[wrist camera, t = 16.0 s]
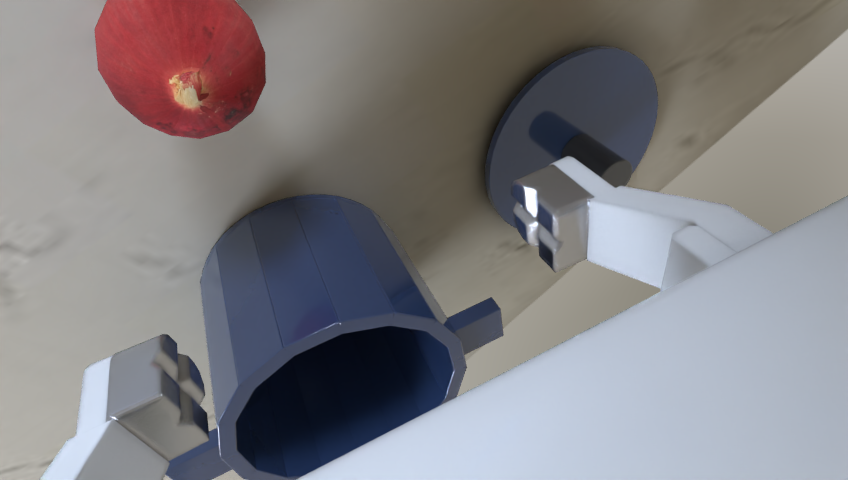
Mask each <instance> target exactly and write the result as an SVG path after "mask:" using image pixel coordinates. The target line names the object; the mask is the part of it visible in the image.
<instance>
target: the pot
mask: <svg viewBox="0 0 848 480" xmlns="http://www.w3.org/2000/svg"><path fill="white" fill-rule="evenodd" d="M200 284H201V295H202V306H203V316H204V325H205V334H206V343H207V351H208V360H209V369H210V378H211V387H212V396H213V405H214V413H215V422H216V429H214V430H211V431H209V441H207V442H205V443H203V444H201V445H199V446H197V447H195V448H193V449H191V450H189V451H187V452H185V453H183V454H181V455H180V456H178V457H176V458H174V459H172V460H170V461H168V462H169V463H170V464H169V466H168V469H167V471H166V473H165V475H167V476H168V477H169V478H171V479H172V480H212V479H214V478H216V477H218V476H220V475H222V474H224V473H226V472H228V471H230V470H232V469H233V470H234V471H235V472H236V473H237V474H238V475H239V476H241V477H242V478H243V479H246V480H296V479H298V478H300V477H302V476H304V475H306V474H308V473H309V472H311V471H313V470H315V469H317V468H319V467H321V466H323V465H325V464H327V463H329V462H331V461H333V460H335V459H337V458H339V457H341V456H343V455H344V454H346V453H348V452H350V451H352V450H354V449H356V448H358V447H360V446H362V445H364V444H366V443H368V442H370V441H372V440H374V439H376V438H378V437H380V436H381V435H383V434H385V433H387V432H389V431H391V430H393V429H395V428H397V427H399V426H401V425H403V424H405V423H407V422H409V421H411V420H413V419H415V418H417V417H418V416H420V415H422V414H424V413H426V412H428V411H430V410H432V409H434V408H436V407H438V406H440V405H442V404H444V403H446V402H448V401H450V400H452V399H454V398H455V397H457V394H458V391H459V389H460V386H461V382H462V380H463V377H464V374H465V371H466V368H467V367H466V361H465V356H464V355H465V354H467V353H469V352H471V351H473V350H475V349H477V348H479V347H481V346H483V345H485V344H487V343H489V342H491V341H493V340H495V339H497V338H499V337H501V336H503V327H502V318H501V310H500V308H499V307H498V305H497V304H496V303H495V301H494V300H493V299H492V297H491V298H489V299H486V300H484V301H482V302H480V303H478V304H476V305H474V306H472V307H470V308H468V309H465V310H463V311H461V312H459V313H457V314H455V315H453V316H451V317H449V318H447V317H446V315H445V314H444V312H443V310H442V309H441V307H440V306H439V304H438V302H437V301H436V299H435V298H434V296H433V294H432V293H431V291H430V290H429V288H428V287H427V285H426V283H425V282H424V280H423V279H422V277H421V275H420V274H419V272H418V271H417V269H416V267H415V266H414V264H413V263H412V261H411V259H410V258H409V256H408V255H407V253H406V251H405V250H404V248H403V247H402V245H401V244H400V242H399V240H398V239H397V237H396V236H395V234H394V232H393V231H392V230H391V229H390V228H389V227H388V226H387V225H386V223H385V222H384V221H383V220H382V219H381V218H380V216H379V215H377V214H376V213H375V212H374V211H372V210H371V209H369V208H368V207H366V206H364V205H363V204H361V203H358V202H356V201H353V200H351V199H347V198H343V197H339V196H332V195H303V196H295V197H291V198H286V199H282V200H279V201H276V202H273V203H270V204H268V205H266V206H263V207H261V208H259V209H257V210H255V211H253V212H252V213H250V214H248V215H247V216H245V217H243V218H242V219H241V220H239V221H238V222H237V223H235V224H234V225H233V226H232V227H231V228H230V229H229V230H228V231H227V232H226V233H225V234H224V235H223V236H222V237H221V238H220V239H219V240H218V242H217V243H216V244H215V246H214V247H213V249H212V251H211V252H210V254H209V256H208V258H207V260H206V263H205V266H204V268H203V272H202V277H201V281H200Z"/></svg>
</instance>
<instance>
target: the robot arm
mask: <svg viewBox="0 0 848 480" xmlns="http://www.w3.org/2000/svg"><path fill="white" fill-rule="evenodd" d="M511 194H512V196H513V197H514V198H515V199H516V200H517V203H516V205H515V207H514V209H513V215H514V222H515V224H516V227H517V229H518V231H519V233H520V235H521V236H522V238H523V239H524V240H525V241H526V242H527V243H528V244H529V245H532V246H536V247H539V256H540V257H541V258H542V259H543V260H544V261H545V262H546V263H547V264H548V265H549V266H550V267H551V268H552V270H553V271H554V272H555V273H556V272H558V271H561V270H563V269H565V268H567V267H570V266H572V265H574V264H576V263H578V262H581V261H583V260H585V259H587V261H590V262H592V263H595V264H598V265H600V266H603V267H605V268H608V269H611V270H613V271H616V272H619V273H621V274H624V275H626V276H629V277H632V278H634V279H637V280H640V281H642V282H645V283H647V284H650V285H653V286H655V287H658V288H661V291H660V292H659V293H658V294H656V295H654V296H652V297H650V298H648V299H646V300H644V301H642V302H640V303H638V304H636V305H634V306H632V307H630V308H628V309H626V310H625V311H622V312H620V313H619V314H617V315H615V316H613V317H611V318H609V319H607V320H605V321H603V322H601V323H599V324H597V325H595V326H593V327H591V328H589V329H587V330H585V331H583V332H582V333H580V334H578V335H576V336H574V337H572V338H570V339H568V340H566V341H564V342H562V343H560V344H559V345H556V346H554V347H552V348H551V349H549V350H547V351H545V352H543V353H541V354H539V355H537V356H535V357H533V358H531V359H529V360H527V361H525V362H524V363H521V364H520V365H518V366H516V367H514V368H512V369H510V370H508V371H506V372H504V373H502V374H500V375H498V376H496V377H495V378H492V379H490V380H489V381H487V382H485V383H483V384H481V385H479V386H477V387H475V388H473V389H471V390H469V391H467V392H465V393H463V394H461V395H459V396H457V397H455V398H454V399H452V400H450V401H448V402H446V403H444V404H442V405H440V406H438V407H436V408H434V409H432V410H430V411H428V412H426V413H424V414H422V415H420V416H418V417H417V418H415V419H413V420H411V421H409V422H407V423H405V424H403V425H401V426H399V427H397V428H395V429H393V430H391V431H389V432H387V433H385V434H383V435H381V436H380V437H378V438H376V439H374V440H372V441H370V442H368V443H366V444H364V445H362V446H360V447H358V448H356V449H354V450H352V451H350V452H348V453H346V454H344V455H343V456H341V457H339V458H337V459H335V460H333V461H331V462H329V463H327V464H325V465H323V466H321V467H319V468H317V469H315V470H313V471H311V472H309V473H308V474H306V475H304V476H302V477H300V478H298V479H296V480H848V196H846V197H844V198H842V199H840V200H838V201H836V202H834V203H832V204H830V205H829V206H827V207H825V208H823V209H821V210H819V211H817V212H815V213H813V214H811V215H809V216H807V217H805V218H803V219H801V220H799V221H797V222H796V223H794V224H792V225H790V226H788V227H786V228H784V229H782V230H780V231H778V232H776V233H774V234H773V233H772V232H770V231H768V230H767V229H765V228H764V227H762V226H760V225H759V224H757V223H756V222H754V221H753V220H751V219H749V218H748V217H746V216H745V215H743V214H741V213H740V212H738V211H737V210H735V209H733V208H732V207H730V206H729V205H726V204H721V203H715V202H709V201H704V200H698V199H692V198H687V197H681V196H676V195H670V194H664V193H659V192H653V191H648V190H642V189H636V188H631V187H625V186H619V187H617V188H615V187H613V186H612V185H610V184H609V183H608V182H606V181H605V180H604V179H602V178H601V177H599V176H598V175H597V174H595V173H594V172H593V171H591V170H590V169H588V168H587V167H586V166H584V165H583V164H582V163H580V162H579V161H578V160H576V159H575V158H573V157H570V156H567V157H564V158H562V159H560V160H558V161H556V162H554V163H551V164H550V165H549V166H546V167H543V168H541V169H539V170H537V171H534V172H532V173H530V174H528V175H525V176H523V177H521V178H519V179H517V180H514V181H513V182H512V185H511ZM204 396H205V391H204V384H203V381H202V378H201V375H200V372H199V370H198V368H197V367H196V365H195V364H194V362H193V361H192V360H191V359H190V358H189V356H186V355H182V354H177V343H176V342H175V341H174V340H173V339H172V338H171V337H170V336H169V335H166V334H162V335H160V336H157V337H155V338H152V339H150V340H147V341H145V342H143V343H140V344H138V345H135V346H133V347H130V348H128V349H126V350H123V351H121V352H118V353H116V354H114V355H113V356H110V357H107V358H105V359H103V360H100V361H98V362H95V363H93V364H90V365H89V366H88V367H87V368H86V370H85V371H84V375H83V382H82V390H81V398H80V405H79V413H78V421H77V428H76V436H75V437H73V438H70V439H68V440H67V441H66V443H65V444H64V446H63V447H62V448H61V450H60V451H59V453H58V454H57V456H56V457H55V458H54V460H53V461H52V463H51V464H50V466H49V467H48V468H47V470H46V471H45V473H44V474H43V475H42V477H41V478H40V480H163V478H164V476H165V473H166V471H167V469H168V466H169V464H170V463H169V462H168V461H170V460H172V459H174V458H176V457H178V456H180V455H181V454H183V453H185V452H187V451H189V450H191V449H193V448H195V447H197V446H199V445H201V444H203V443H205V442H207V441H209V431H208V420H207V413H206V412H205V411H204V410H203V409H202V408H201V407H200V404H201V402H202V400H203V398H204Z"/></svg>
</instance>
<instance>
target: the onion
mask: <svg viewBox="0 0 848 480" xmlns="http://www.w3.org/2000/svg"><path fill="white" fill-rule="evenodd" d="M95 39H96V50H97V61H98V70H99V72H100V74H101V75H102V77H103V79H104V80H105V82H106V84H107V85H108V87H109V89H110V90H111V92H112V94H113V96H114V97H115V99H116V100H117V101H118V102H119V103H120V104H121V105H122V106H123V107H124V108H126V109H127V110H128V111H129V112H130V113H131V114H133V115H134V116H135V117H136V118H137V119H138V120H140V121H141V122H142V123H143V124H145V125H148V126H150V127H152V128H155V129H157V130H159V131H162V132H164V133H166V134H169V135H172V136H181V137H190V138H199V139H200V138H204V137H208V136H211V135H215V134H218V133H222V132H225V131H229V130H230V129H231V128H233V127H234V126H235V125H236V124H238V123H239V122H240V121H242V120H243V119H244V118H245V117H247V116H248V115H249V114H251V113H252V112H253V110H254V108H255V106H256V103H257V101H258V99H259V97H260V94H261V92H262V90H263V88H264V86H265V83H266V78H265V52H264V49H263V47H262V44H261V42H260V39H259V37H258V34H257V32H256V29H255V27H254V24H253V22H252V20H251V18H250V17H249V16H248V15H247V14H246V13H245V12H244V10H243V9H242V8H241V7H240V6H239V5H238V4H237V2H236V1H235V0H107V2H106V4H105V6H104V9H103V11H102V13H101V16H100V18H99V20H98V23H97V25H96V27H95Z"/></svg>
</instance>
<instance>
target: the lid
mask: <svg viewBox="0 0 848 480" xmlns="http://www.w3.org/2000/svg"><path fill="white" fill-rule="evenodd" d="M657 110H658V94H657V88H656V83H655V81H654V78H653V75H652V73H651V72H650V70H649V68H648V67H647V66H646V64H645V63H644V62H643V61H642V60H641V59H639V58H638V57H637V56H635V55H634V54H631V53H629V52H627V51H624V50H622V49H620V48H615V47H610V46H597V47H590V48H585V49H582V50H579V51H575V52H573V53H571V54H568V55H566V56H564V57H562V58H560V59H558V60H557V61H555V62H554V63H552V64H550V65H549V66H547V67H546V68H545V69H543V70H542V71H541V72H540V73H538V74H537V75H536V76H535V77H534V78H533V79H532V80H531V81H530V82H528V83H527V84H526V85H525V87H524V88H523V89H522V90H521V91H520V92H519V93H518V95H517V96H516V97H515V98H514V100H513V101H512V102H511V104H510V105H509V107H508V108H507V109H506V111H505V113H504V115H503V116H502V118H501V120H500V122H499V124H498V126H497V128H496V130H495V132H494V135H493V137H492V140H491V143H490V146H489V150H488V154H487V159H486V167H485V183H486V189H487V194H488V197H489V199H490V202H491V204H492V206H493V207H494V209H495V211H496V212H497V213H498V214H499V215H500V216H501V217H502V218H503V219H504V220H505V221H506V222H507V223H508V224H510V225H511V226H513V227H515V228H517V227H516V224H515V222H514V215H513V209H514V207H515V205H516V203H517V200H516V199H515V198H514V197H513V196H512V194H511V185H512V182H513V181H514V180H517V179H519V178H521V177H523V176H525V175H528V174H530V173H532V172H534V171H537V170H539V169H541V168H543V167H546V166H549V165H550V164H551V163H554V162H556V161H558V160H560V159H562V158H564V157H567V156H570V157H573V158H575V159H576V160H578V161H579V162H580V163H582V164H583V165H584V166H586V167H587V168H588V169H590V170H591V171H593V172H594V173H595V174H597V175H598V176H599V177H601V178H602V179H604V180H605V181H606V182H608V183H609V184H610V185H612V186H613V187H615V188H617V187H619V186H626V184H627V183H628V182H629V180H630V178H631V175H632V173H633V172H634V170H635V169H636V167H637V166H638V164H639V162H640V161H641V159H642V157H643V155H644V153H645V151H646V149H647V147H648V144H649V142H650V140H651V137H652V134H653V131H654V127H655V123H656V118H657Z"/></svg>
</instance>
